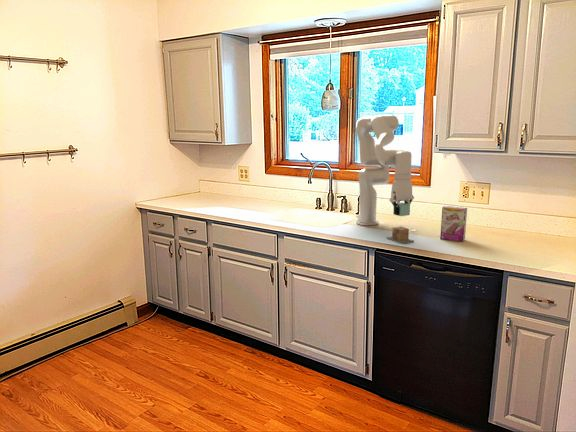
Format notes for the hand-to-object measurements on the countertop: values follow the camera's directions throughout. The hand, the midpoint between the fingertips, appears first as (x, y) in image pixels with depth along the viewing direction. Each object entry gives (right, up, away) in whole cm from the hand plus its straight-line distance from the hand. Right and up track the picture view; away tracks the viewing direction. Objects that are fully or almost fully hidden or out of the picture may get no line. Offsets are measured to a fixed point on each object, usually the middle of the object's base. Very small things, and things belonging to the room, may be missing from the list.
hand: (401, 213), depth 232 cm
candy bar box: (+26, -13, +3) cm, 29 cm away
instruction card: (+10, -9, +24) cm, 27 cm away
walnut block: (0, -13, +3) cm, 13 cm away
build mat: (0, -13, +3) cm, 14 cm away
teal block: (0, -1, 0) cm, 1 cm away
